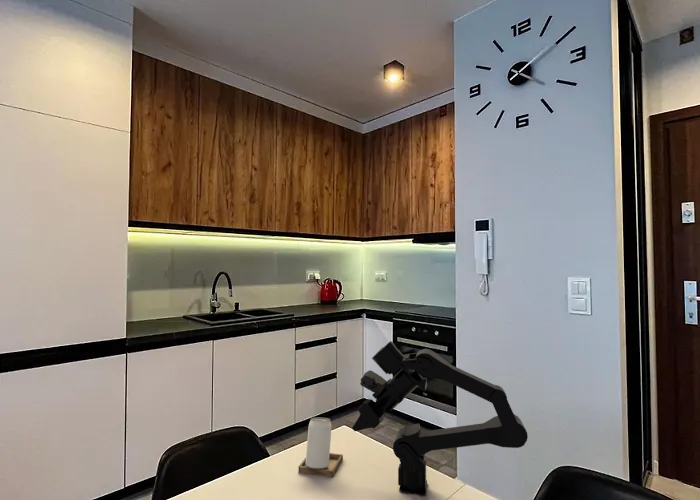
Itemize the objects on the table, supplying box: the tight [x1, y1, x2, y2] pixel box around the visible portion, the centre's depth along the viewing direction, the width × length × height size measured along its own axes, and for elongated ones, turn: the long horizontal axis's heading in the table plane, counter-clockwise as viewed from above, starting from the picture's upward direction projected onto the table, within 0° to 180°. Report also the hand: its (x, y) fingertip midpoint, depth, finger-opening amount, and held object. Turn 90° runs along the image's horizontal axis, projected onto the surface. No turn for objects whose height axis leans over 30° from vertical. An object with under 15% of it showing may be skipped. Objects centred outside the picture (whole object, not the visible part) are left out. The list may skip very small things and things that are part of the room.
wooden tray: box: [298, 452, 344, 478], centre depth 107 cm, size 10×10×2 cm
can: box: [305, 417, 332, 469], centre depth 107 cm, size 6×6×12 cm
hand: (360, 423), depth 103 cm, fingers open, 9 cm apart
